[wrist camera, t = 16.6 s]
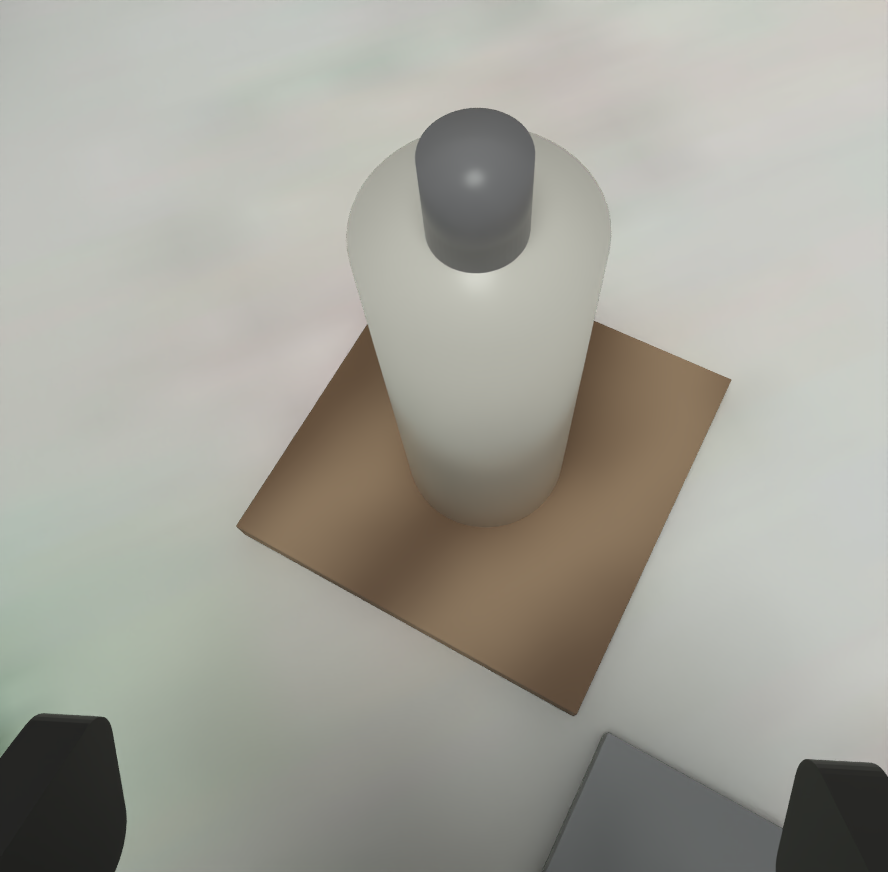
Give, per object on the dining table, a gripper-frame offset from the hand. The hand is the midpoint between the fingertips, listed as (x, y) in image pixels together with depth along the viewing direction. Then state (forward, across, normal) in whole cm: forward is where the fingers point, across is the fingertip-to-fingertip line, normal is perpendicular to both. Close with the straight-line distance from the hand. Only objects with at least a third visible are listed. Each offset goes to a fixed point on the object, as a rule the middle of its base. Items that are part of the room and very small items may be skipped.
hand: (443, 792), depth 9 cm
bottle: (+17, 0, +3) cm, 17 cm away
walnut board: (+18, 0, +4) cm, 18 cm away
